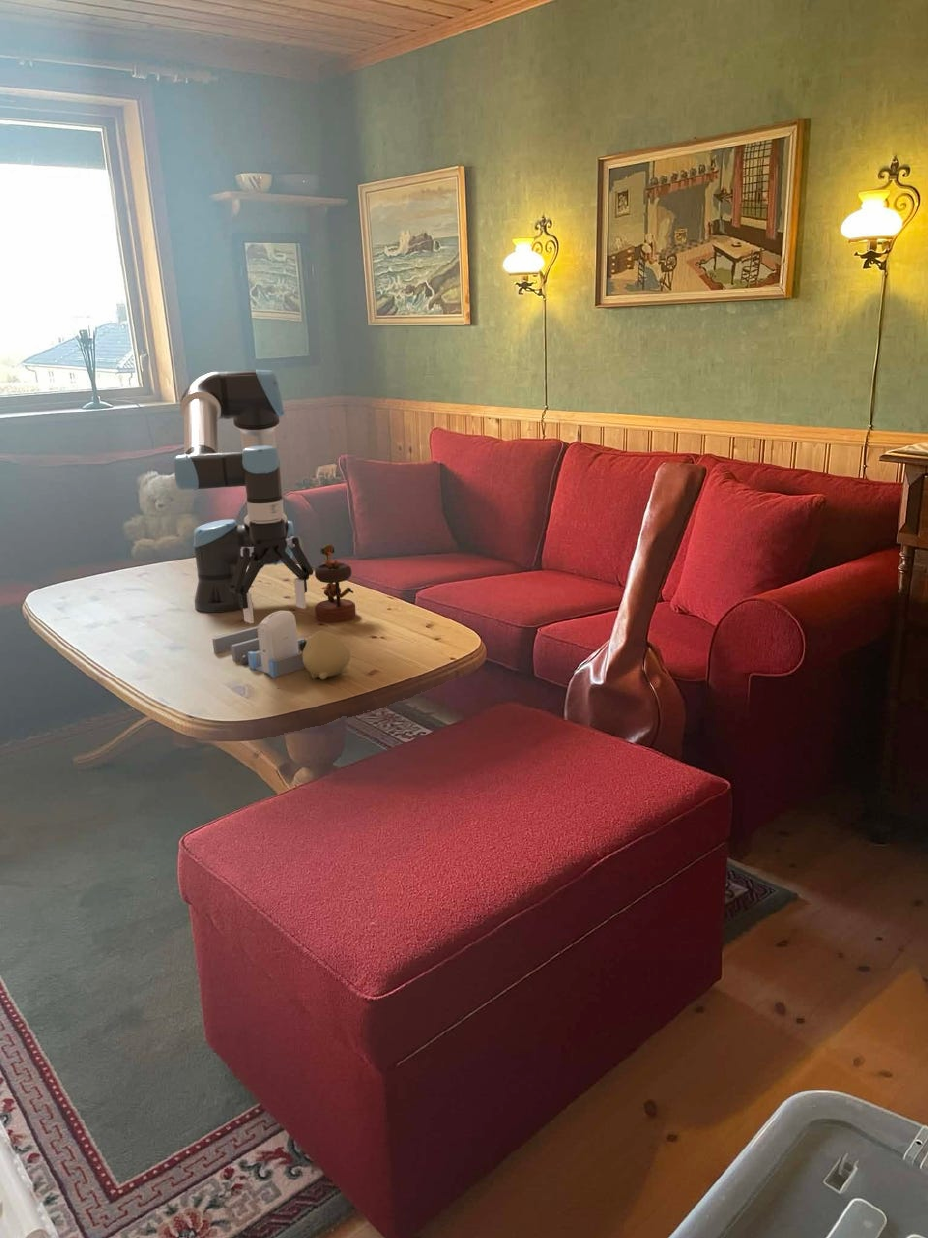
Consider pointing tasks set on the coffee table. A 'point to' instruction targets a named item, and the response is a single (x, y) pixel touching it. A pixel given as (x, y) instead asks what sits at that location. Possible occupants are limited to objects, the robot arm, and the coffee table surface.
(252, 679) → the coffee table surface
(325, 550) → the music box
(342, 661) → the tan frog figure
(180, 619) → the coffee table surface
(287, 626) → the photo printer
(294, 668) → the grey shelf rack
